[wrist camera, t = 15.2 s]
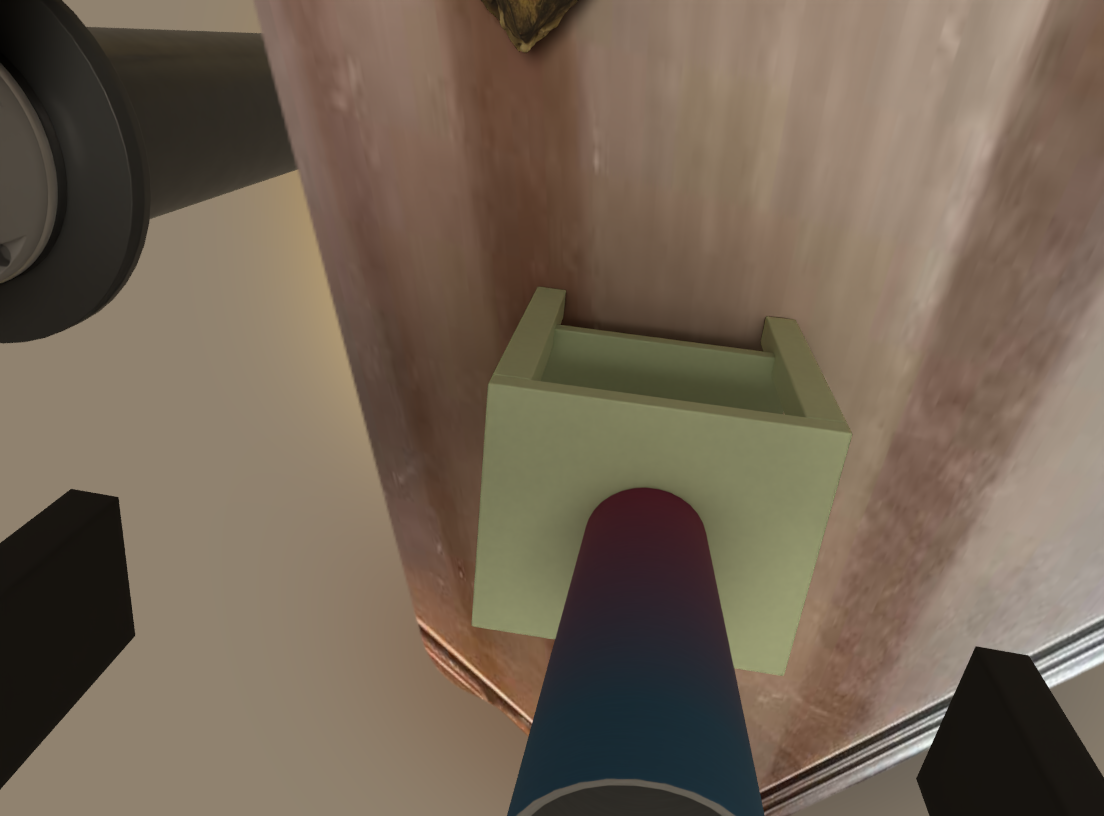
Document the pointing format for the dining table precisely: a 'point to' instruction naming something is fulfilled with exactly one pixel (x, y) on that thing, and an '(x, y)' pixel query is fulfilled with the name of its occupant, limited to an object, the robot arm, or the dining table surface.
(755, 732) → the dining table surface
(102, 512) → the robot arm
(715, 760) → the cup
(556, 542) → the stand
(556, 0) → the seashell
